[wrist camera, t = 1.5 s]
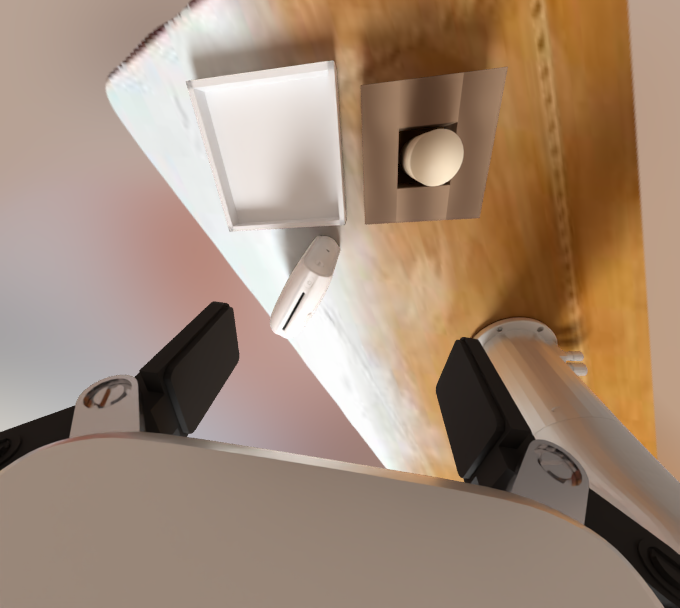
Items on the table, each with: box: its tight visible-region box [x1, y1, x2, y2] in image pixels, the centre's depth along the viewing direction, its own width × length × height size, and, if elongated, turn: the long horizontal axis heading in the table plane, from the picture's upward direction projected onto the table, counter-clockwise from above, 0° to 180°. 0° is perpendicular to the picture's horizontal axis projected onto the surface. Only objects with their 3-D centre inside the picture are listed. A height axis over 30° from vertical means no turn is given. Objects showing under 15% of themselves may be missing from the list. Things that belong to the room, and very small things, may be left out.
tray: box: [186, 60, 347, 231], centre depth 29 cm, size 15×15×2 cm
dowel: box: [399, 129, 464, 186], centre depth 25 cm, size 4×4×10 cm
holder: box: [361, 67, 508, 224], centre depth 27 cm, size 12×12×5 cm
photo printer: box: [270, 235, 340, 338], centre depth 32 cm, size 10×4×12 cm, turn 151°
